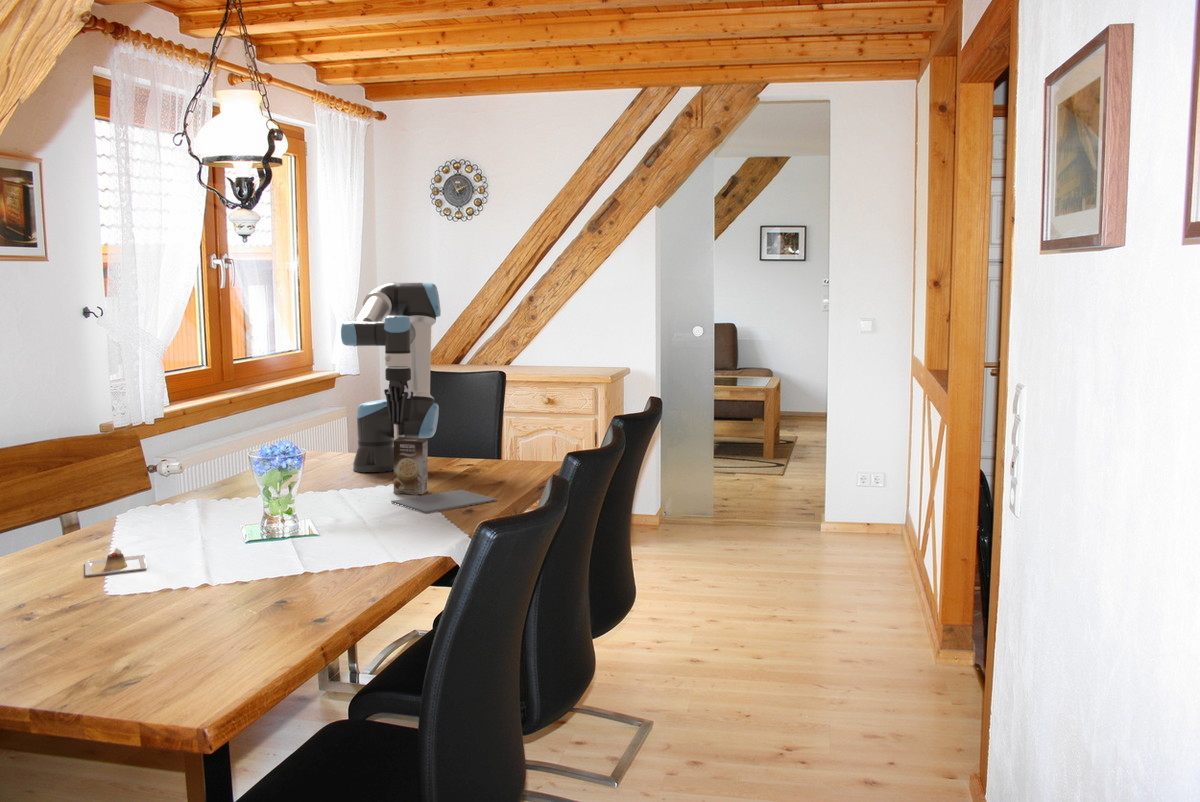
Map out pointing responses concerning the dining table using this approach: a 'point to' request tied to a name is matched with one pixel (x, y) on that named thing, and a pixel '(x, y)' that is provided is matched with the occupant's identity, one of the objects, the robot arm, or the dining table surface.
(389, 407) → the robot arm
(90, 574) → the dessert
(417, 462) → the coffee box
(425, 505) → the mat
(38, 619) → the dining table surface
